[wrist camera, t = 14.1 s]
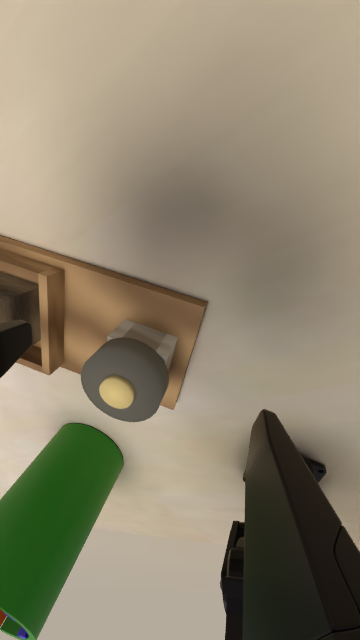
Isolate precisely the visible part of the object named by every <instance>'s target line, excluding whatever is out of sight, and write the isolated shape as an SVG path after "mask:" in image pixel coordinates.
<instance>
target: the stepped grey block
mask: <svg viewBox="0 0 360 640" xmlns="http://www.w3.org/2000/svg"><path fill="white" fill-rule="evenodd" d="M14 320H23V321H26V322H28V323H30V324H31V326H32V344H31V346H33V345H34V344H36V343H37V342H39V341H40V340H41V328H40V305H39V284H37V283H34V282H31V281H28V280H25V279H22V278H19V277H16V276H14V275H11V274H8V273H5V272H2V271H0V323H1V322H7V321H14ZM31 346H30V347H31ZM30 347H29V348H30Z"/></svg>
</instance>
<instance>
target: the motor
mask: <svg viewBox="0 0 360 640" xmlns="http://www.w3.org/2000/svg"><path fill="white" fill-rule="evenodd" d="M122 467H123V457H122V454H121V452H120V450H119V449H118V447H117V446H116V445H115V444H114V442H113V441H112V440H111V439H109V438H108V437H107V436H106V435H104V434H103V433H101V432H100V431H98V430H96V429H94V428H92V427H90V426H87V425H83V424H78V423H70V424H66V425H64V426H63V427H62V428H61V429H60V430H59V431H58V432H57V434H56V435H55V436H54V437H53V438H52V440H51V441H50V442H49V443H48V444H47V445H46V447H45V448H44V449H43V450H42V451H41V452H40V454H39V455H38V456H37V457H36V458H35V460H34V461H33V462H32V463H31V464H30V465H29V467H28V468H27V469H26V470H25V471H24V473H23V474H22V475H21V476H20V477H19V478H18V480H17V481H16V482H15V483H14V484H13V486H12V487H11V488H10V489H9V490H8V491H7V493H6V494H5V495H4V496H3V497H2V499H1V500H0V626H1V625H2V623H3V621H4V620H5V618H6V616H7V618H6V620H5V622H4V623H3V625H2V627H1V628H0V630H1V631H2V632H4V633H6V634H8V635H10V636H13V637H15V638H17V639H20V640H37V637H38V636H39V634H40V632H41V629H42V628H43V626H44V624H45V622H46V619H47V618H48V615H49V613H50V611H51V609H52V607H53V605H54V603H55V601H56V600H57V598H58V595H59V594H60V592H61V589H62V588H63V586H64V584H65V582H66V580H67V577H68V576H69V574H70V572H71V569H72V568H73V565H74V564H75V562H76V560H77V558H78V555H79V553H80V552H81V550H82V548H83V546H84V544H85V542H86V540H87V538H88V536H89V534H90V532H91V530H92V528H93V526H94V524H95V522H96V520H97V518H98V516H99V514H100V512H101V510H102V507H103V505H104V503H105V501H106V499H107V497H108V495H109V493H110V491H111V489H112V487H113V485H114V483H115V481H116V479H117V477H118V475H119V473H120V471H121V469H122Z"/></svg>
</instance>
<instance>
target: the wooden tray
mask: <svg viewBox="0 0 360 640" xmlns="http://www.w3.org/2000/svg"><path fill="white" fill-rule="evenodd" d="M0 271H2V272H5V273H8V274H11V275H14V276H16V277H19V278H22V279H25V280H28V281H31V282H34V283H37V284H39V305H40V328H41V340H40V341H39V342H37V343H36V344H34V345H33V346H31V347H30V348H28V350H27V351H26V352H25V353H24V354H23V355H22V356H21V357H20V358H19V359H18V360H17V361H16V363H19V364H22V365H24V366H27V367H29V368H32V369H34V370H37V371H39V372H42V373H45V374H47V375H50V374H52V373H53V372H54V371H55V370H56V369H57V368H59V367H63V368H65V369H68V370H71V371H73V372H76V373H78V374H81V370H82V367H83V365H84V363H85V362H86V361H87V360H88V359H89V358H90V357H91V356H92V355H93V354H94V353H95V352H96V351H97V350H98V349H99V348H100V347H101V346H102V345H103V344H104V343H106V342H107V341H109V340H111V339H114V338H121V337H125V338H132V339H136V340H139V341H141V342H143V343H145V344H147V345H148V346H150V347H151V348H153V349H154V350H155V351H156V352H157V353H158V354H159V355H160V356H161V358H162V359H163V361H164V362H165V364H166V367H167V369H168V373H169V384H168V388H167V390H166V392H165V394H164V397H163V399H162V401H161V403H160V405H162V406H164V407H167V408H169V409H172V410H173V409H174V407H175V404H176V402H177V398H178V395H179V392H180V389H181V386H182V382H183V379H184V376H185V373H186V369H187V366H188V363H189V360H190V357H191V353H192V350H193V347H194V344H195V341H196V337H197V334H198V331H199V328H200V325H201V321H202V318H203V315H204V312H205V309H206V305H207V302H205V301H202V300H199V299H196V298H192V297H189V296H186V295H183V294H180V293H177V292H174V291H171V290H168V289H165V288H162V287H158V286H155V285H152V284H149V283H146V282H143V281H140V280H137V279H134V278H131V277H128V276H124V275H121V274H118V273H115V272H112V271H109V270H106V269H103V268H100V267H97V266H93V265H90V264H87V263H84V262H81V261H78V260H75V259H72V258H69V257H66V256H63V255H59V254H56V253H53V252H50V251H47V250H44V249H41V248H38V247H35V246H32V245H28V244H25V243H22V242H19V241H16V240H13V239H10V238H7V237H4V236H1V235H0Z"/></svg>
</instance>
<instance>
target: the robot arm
mask: <svg viewBox="0 0 360 640" xmlns="http://www.w3.org/2000/svg"><path fill="white" fill-rule="evenodd" d="M31 344H32V326H31V324H30V323H28V322H26V321H23V320H14V321H7V322H1V323H0V378H1V377H2V376H3V375H4V374H5V373H6V372H7V371H8V370H9V369H10V368H11V367H12V366H13V364H14V363H15V362H16V361H17V360H18V359H19V358H20V357H21V356H22V355H23V354H24V353H25V352H26V351H27V350H28V348H29V347H30V346H31ZM325 474H326V468H325V466H324V465H322V464H319V463H317V462H314V461H311V460H309V459H306V458H304V457H301V455H300V453H299V452H298V450H297V448H296V447H295V445H294V444H293V442H292V440H291V439H290V437H289V435H288V434H287V432H286V430H285V429H284V427H283V425H282V424H281V422H280V421H279V419H278V417H277V416H276V414H275V413H273V412H271V411H268V410H265V409H263V410H261V412H260V413H259V415H258V417H257V419H256V421H255V422H254V424H253V427H252V431H251V438H250V446H249V453H248V461H247V469H246V472H245V473H244V475H243V481H244V482H245V522H239V521H233V524H232V528H231V531H230V535H229V540H228V544H227V549H226V553H225V558H224V562H223V567H222V571H221V582H220V587H221V589H222V594H223V602H224V608H225V611H226V633H225V640H360V551H359V550H358V548H357V547H356V545H355V544H354V542H353V540H352V539H351V537H350V535H349V534H348V532H347V530H346V529H345V527H344V526H341V525H342V523H341V521H340V519H339V517H338V516H337V514H336V513H335V511H334V509H333V508H332V506H331V504H330V503H329V501H328V499H327V498H326V496H325V494H324V493H323V491H322V490H321V488H320V486H319V485H318V482H319V481H320V480H321V478H322V477H323V476H324V475H325Z"/></svg>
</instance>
